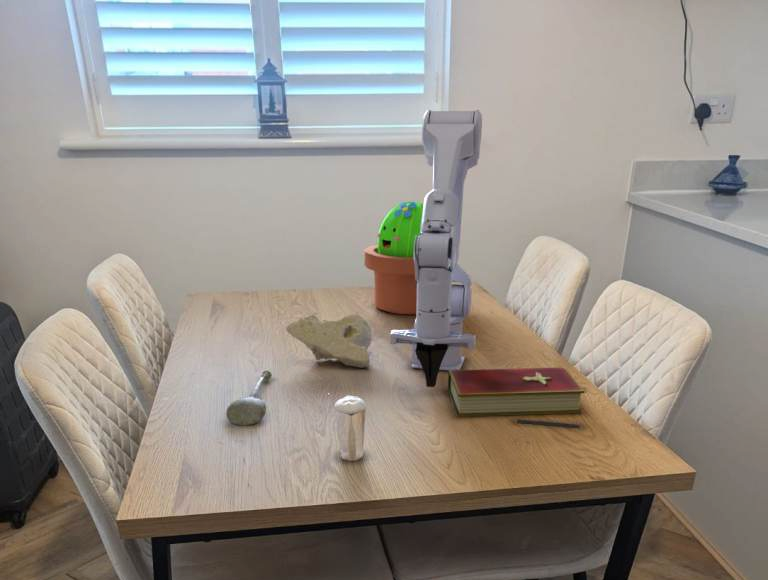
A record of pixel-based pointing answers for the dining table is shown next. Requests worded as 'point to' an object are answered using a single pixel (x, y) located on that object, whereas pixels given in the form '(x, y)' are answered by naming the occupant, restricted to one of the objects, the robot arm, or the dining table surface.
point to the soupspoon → (248, 407)
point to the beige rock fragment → (335, 338)
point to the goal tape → (549, 423)
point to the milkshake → (350, 426)
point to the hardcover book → (514, 391)
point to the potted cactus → (396, 259)
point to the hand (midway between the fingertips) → (431, 385)
